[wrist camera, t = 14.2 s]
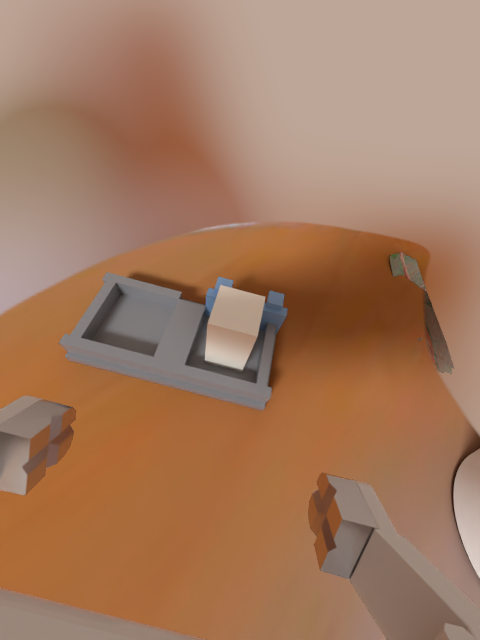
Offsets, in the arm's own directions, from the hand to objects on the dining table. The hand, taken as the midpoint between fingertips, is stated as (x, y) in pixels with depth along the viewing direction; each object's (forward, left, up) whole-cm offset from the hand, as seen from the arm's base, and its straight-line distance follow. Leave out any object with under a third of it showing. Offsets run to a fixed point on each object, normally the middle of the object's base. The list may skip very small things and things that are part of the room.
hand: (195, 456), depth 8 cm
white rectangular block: (0, -11, -16) cm, 19 cm away
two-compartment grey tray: (+5, -11, -17) cm, 21 cm away
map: (-25, -26, -17) cm, 40 cm away
